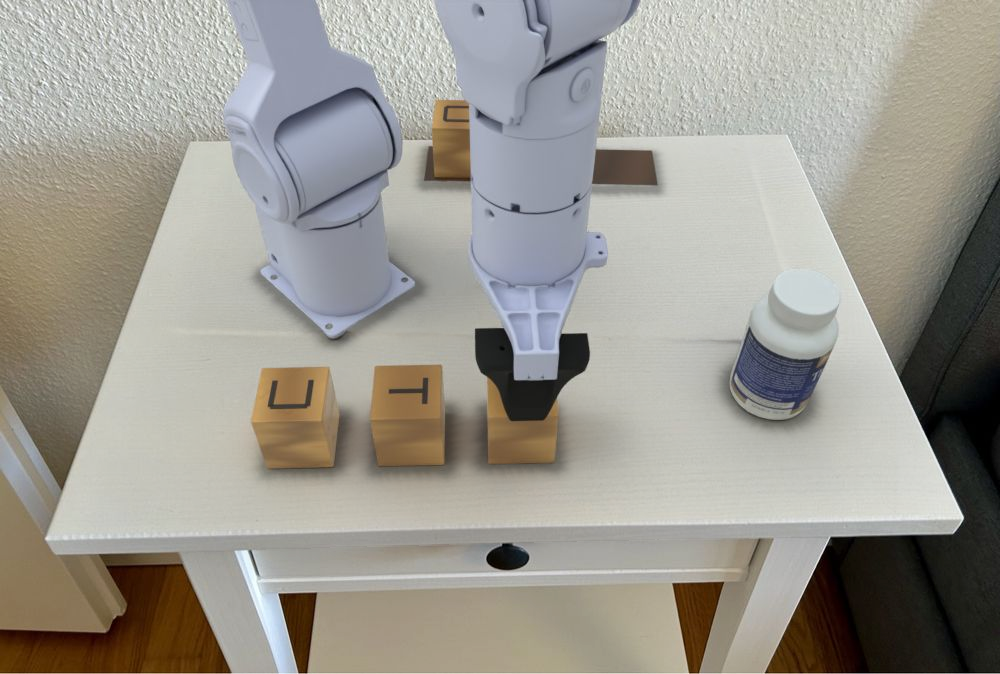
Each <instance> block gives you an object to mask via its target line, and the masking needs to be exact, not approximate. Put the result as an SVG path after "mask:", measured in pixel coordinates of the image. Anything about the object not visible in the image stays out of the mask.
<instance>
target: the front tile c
mask: <svg viewBox="0 0 1000 674" xmlns="http://www.w3.org/2000/svg"><path fill="white" fill-rule="evenodd" d="M340 413H341V412H340V409H339V405H338V400H337V396H336V392H335V387H334V382H333V378H332V374H331V369H330V366H299V367H295V366H294V367H262V368H261V371H260V376H259V380H258V386H257V390H256V395H255V400H254V405H253V410H252V415H251V418H250V419H251V420H250V423H251V426H252V429H253V432H254V434H255V438H256V440H257V443H258V446H259V449H260V452H261V454H262V457H263V461H264V463H265V467H266V468H267V469H269V470H270V469H309V468H310V469H311V468H315V469H317V468H318V469H319V468H334V466H335V458H336V450H337V442H338V435H339V434H338V432H339V425H340V417H341V414H340Z"/></svg>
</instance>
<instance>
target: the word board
mask: <svg viewBox="0 0 1000 674" xmlns="http://www.w3.org/2000/svg"><path fill="white" fill-rule="evenodd" d="M423 181H424V182H462V183H463V182H465V183H466V182H467V183H469V182H470V183H471V178H442V177H435V174H434V158H433V145H428V148H427V154H426V162H425V170H424V177H423ZM592 185H610V186H611V185H612V186H613V185H614V186H615V185H616V186H658V177H657V172H656V167H655V160H654V156H653V150H647V149H646V150H644V149H636V150H635V149H599V148H596V153H595V162H594V171H593V180H592Z"/></svg>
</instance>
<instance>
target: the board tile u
mask: <svg viewBox="0 0 1000 674" xmlns="http://www.w3.org/2000/svg"><path fill="white" fill-rule="evenodd" d="M433 109H434V110H433V115H432V124H431V138H432V139H431V141H432V146H433V158H434V174H435V177H442V178H471V162H470V121H469V103H468V102H466V101H465V100H464V99H435V101H434V108H433Z"/></svg>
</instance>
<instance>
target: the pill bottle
mask: <svg viewBox="0 0 1000 674" xmlns="http://www.w3.org/2000/svg"><path fill="white" fill-rule="evenodd" d="M841 298H842V297H841V292H840V289H839V287H838V286H837V285H836V284H835V282H834V281H832V279H830V278H829V277H828V276H826V275H825V274H823V273H821V272H819V271H816V270H813V269H809V268H802V267H801V268H798V267H797V268H790V269H786V270H784V271H782V272H780V273H779V274H778V275H777V276H776V277H775V279H774V280H773V283H772V285H771V288H770V289H769V291H768V293H766V294H765V295H763V296H761V297H760V298H759V299H758V300H757V301H756V302H755V304H754V306H753V307H752V309H751V311H750V314H749V317H748V320H747V324H746V326H745V330H744V332H743V336H742V339H741V342H740V345H739V348H738V350H737V353H736V357H735V359H734V363H733V365H732V367H731V368H732V369H731V372H730V377H729V389H730V392H731V395H732V397H733V399H734V400H735V402H736V403H737V404H738V405H739V406H740V407H741V408H743V409H744V410H745V411H746V412H748V413H750V414H752V415H753V416H756V417H759V418H762V419H767V420H772V421H778V420H779V421H780V420H781V421H783V420H788V419H792V418H794V417H796V416H797V415H799V414H800V413H801V412H803V410H805V409H806V406H807V405H808V404H809V401H810V399H811V397H812V395H813V393H814V391H815V389H816V386H817V384H818V382H819V380H820V379H821V375H822V374H823V372H824V369H825V367H826V365H827V363H828V361H829V359H830V355H831V354H832V352H833V350H834V348H835V345H836V343H837V340H838V337H839V332H840V331H839V330H840V329H839V327H840V326H839V322H838V319H837V317H836V314H837V312H838V310H839V306H840V303H841Z"/></svg>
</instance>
